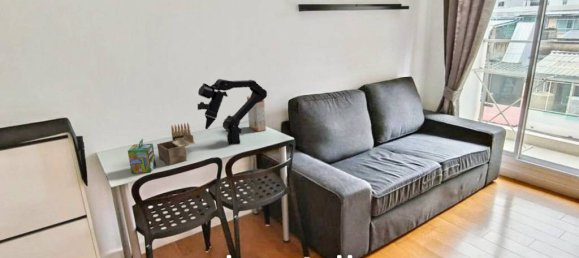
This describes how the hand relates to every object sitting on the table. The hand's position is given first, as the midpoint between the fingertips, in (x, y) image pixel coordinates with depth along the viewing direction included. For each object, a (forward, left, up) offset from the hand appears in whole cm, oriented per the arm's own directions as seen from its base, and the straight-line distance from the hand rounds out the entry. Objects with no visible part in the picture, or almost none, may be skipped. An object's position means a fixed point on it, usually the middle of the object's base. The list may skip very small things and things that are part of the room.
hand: (206, 129), depth 185 cm
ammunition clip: (+16, -14, -12) cm, 25 cm away
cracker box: (-28, -33, -12) cm, 45 cm away
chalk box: (+28, +22, -12) cm, 37 cm away
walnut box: (+17, +12, -12) cm, 23 cm away
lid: (+11, +8, -4) cm, 15 cm away
